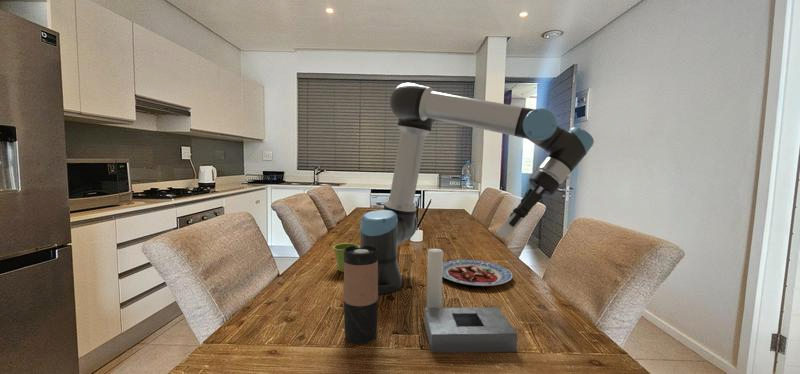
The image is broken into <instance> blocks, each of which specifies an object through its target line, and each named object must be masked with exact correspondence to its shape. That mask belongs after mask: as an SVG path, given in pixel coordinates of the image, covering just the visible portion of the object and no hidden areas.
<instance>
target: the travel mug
mask: <svg viewBox="0 0 800 374" xmlns="http://www.w3.org/2000/svg"><path fill="white" fill-rule="evenodd" d="M378 303H379V294H378V249H377V248H376V247H374V246H369V245H365V246H364V247H361V248H360V247H359V248H357V247H355V246H350V247H347V248H345V250H344V272H343V314H344V315H343V316H344V317H343V318H344V319H343V321H344V338H345V340H346V339H347V340H348V341H349V343H350V342H351V344H353V343H355V344H354V345H365V344H368V342H369V343H371V342H373V341H374V340H375V339H376V337H377V331H378V330H377V329H378V306H379V305H378ZM374 338H375V339H374ZM373 339H374V340H373ZM347 340H346V341H347ZM372 340H373V341H372ZM348 341H347V342H348ZM370 341H371V342H370ZM364 343H365V344H364Z"/></svg>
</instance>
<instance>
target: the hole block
mask: <svg viewBox="0 0 800 374" xmlns="http://www.w3.org/2000/svg"><path fill="white" fill-rule="evenodd" d="M423 321H424V327H425V331H426V336H427V340H428V345H429V348H430V353H431V354H439V353H440V354H441V353H442V354H443V353H444V354H446V353H447V354H448V353H449V354H451V353H452V354H453V353H454V354H455V353H458V354H459V353H464V354H466V353H517V350H518V349H517V346H518V333H517V331H516V330H515V328H514V327H513V326H512V324H511V323H510V322H509V321H508V319H507V318H506V317H505V315H504V314H503V313H502V312H501V310H500V309H499V307H495V306H494V307H492V306H490V307H488V306H487V307H480V306H479V307H476V306H475V307H442V308H427V307H424V320H423Z"/></svg>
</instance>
